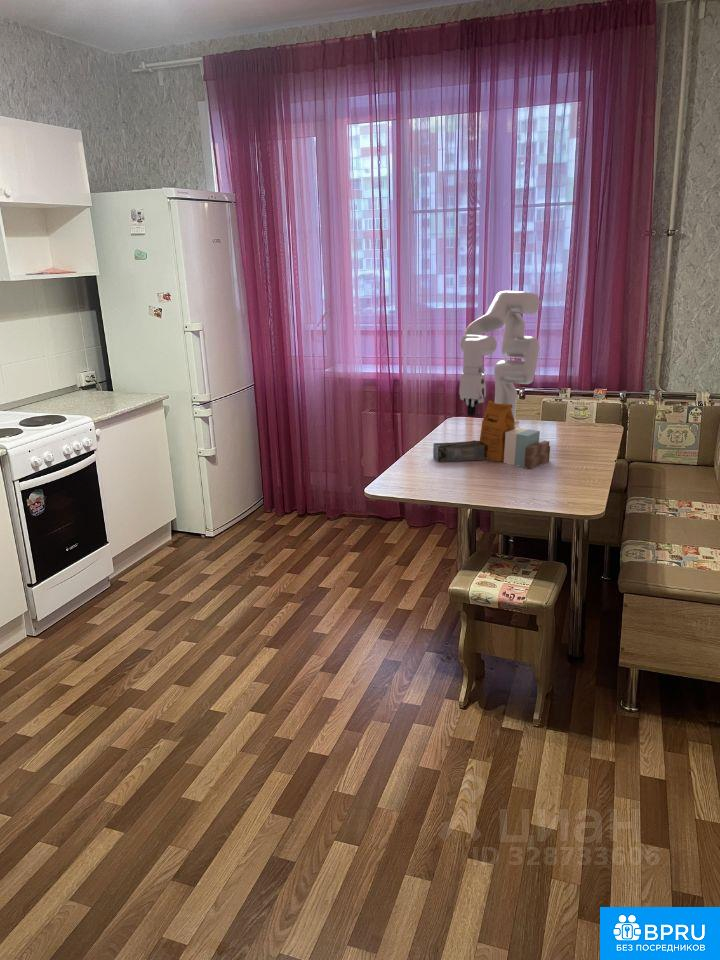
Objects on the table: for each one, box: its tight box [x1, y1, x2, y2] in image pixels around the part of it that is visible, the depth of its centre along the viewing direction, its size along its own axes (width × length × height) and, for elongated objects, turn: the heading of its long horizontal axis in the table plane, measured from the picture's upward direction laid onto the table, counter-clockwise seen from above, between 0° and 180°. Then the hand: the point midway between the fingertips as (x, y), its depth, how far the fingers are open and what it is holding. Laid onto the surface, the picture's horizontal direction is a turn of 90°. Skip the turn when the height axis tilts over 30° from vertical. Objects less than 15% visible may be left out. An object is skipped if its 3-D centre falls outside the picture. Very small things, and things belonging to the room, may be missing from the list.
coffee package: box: [479, 400, 516, 463], centre depth 284 cm, size 10×12×22 cm
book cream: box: [503, 427, 528, 466], centre depth 281 cm, size 10×4×12 cm, turn 141°
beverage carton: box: [432, 439, 486, 463], centre depth 285 cm, size 8×19×7 cm, turn 99°
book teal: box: [514, 428, 541, 467], centre depth 278 cm, size 10×4×12 cm, turn 141°
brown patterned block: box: [523, 440, 551, 470], centre depth 282 cm, size 15×20×8 cm
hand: (471, 415), depth 296 cm, fingers closed
